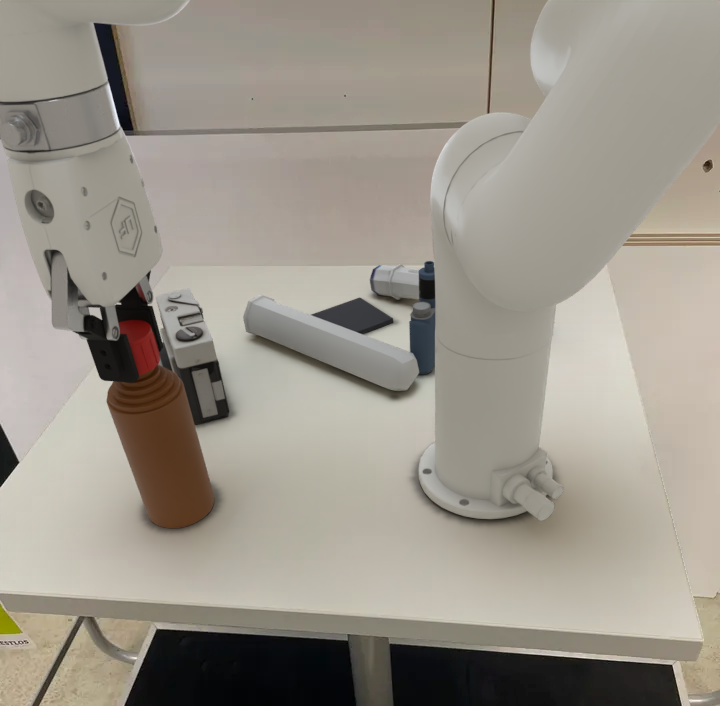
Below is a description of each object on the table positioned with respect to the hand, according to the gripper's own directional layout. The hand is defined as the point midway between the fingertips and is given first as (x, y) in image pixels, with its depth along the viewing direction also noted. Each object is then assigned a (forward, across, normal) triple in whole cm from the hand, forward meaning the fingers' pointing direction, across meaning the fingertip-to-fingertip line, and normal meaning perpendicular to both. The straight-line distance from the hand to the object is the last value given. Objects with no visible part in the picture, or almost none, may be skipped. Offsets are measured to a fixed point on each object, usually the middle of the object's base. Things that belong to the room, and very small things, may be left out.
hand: (132, 362), depth 58 cm
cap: (0, 0, 0) cm, 0 cm away
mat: (+16, +38, -8) cm, 42 cm away
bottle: (+16, 0, 0) cm, 16 cm away
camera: (+16, +19, +7) cm, 26 cm away
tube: (+16, +28, -8) cm, 33 cm away
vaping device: (+16, +28, -20) cm, 38 cm away
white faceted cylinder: (+16, +42, -22) cm, 50 cm away
